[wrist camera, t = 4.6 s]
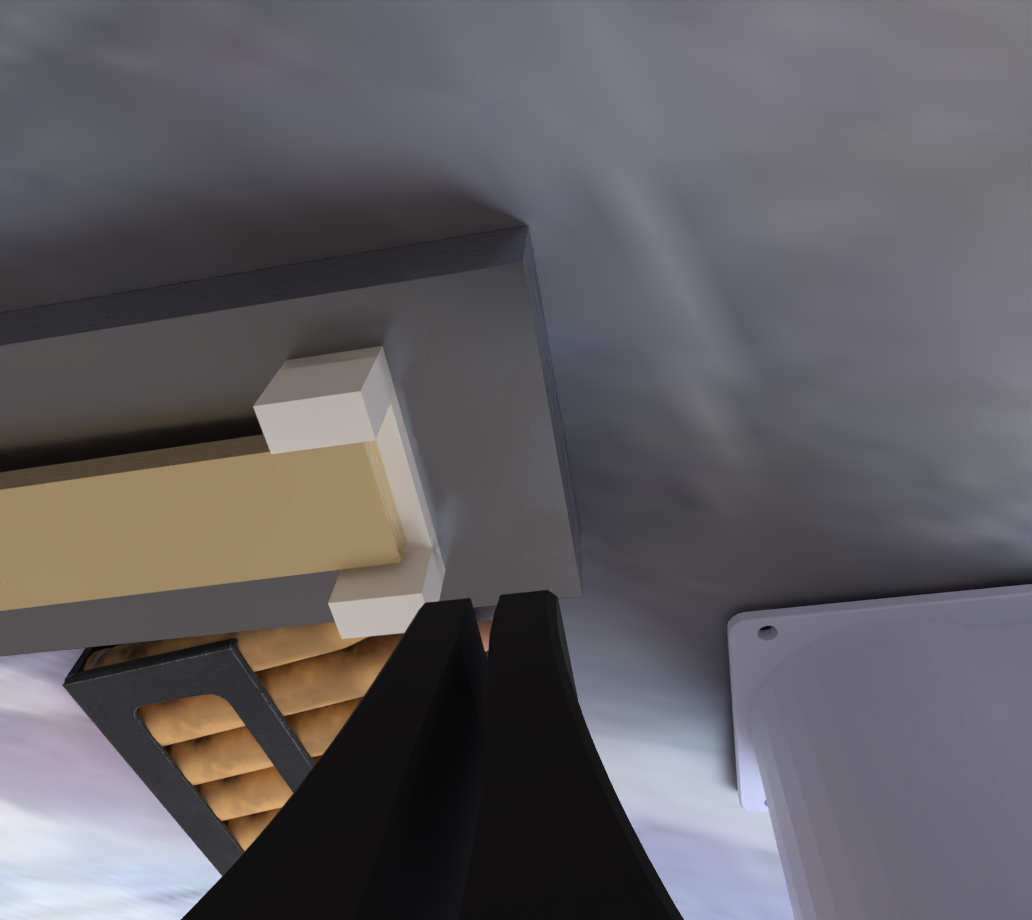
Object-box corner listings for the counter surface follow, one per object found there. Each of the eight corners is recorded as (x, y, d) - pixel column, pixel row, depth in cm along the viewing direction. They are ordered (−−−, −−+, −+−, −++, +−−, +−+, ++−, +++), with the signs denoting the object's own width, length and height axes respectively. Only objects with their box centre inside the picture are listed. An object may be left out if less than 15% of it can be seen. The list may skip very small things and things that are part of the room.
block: (528, 225, 17) (517, 295, 14) (580, 532, 21) (584, 651, 18) (-250, 354, 20) (-437, 443, 16) (-72, 606, 24) (-189, 724, 20)
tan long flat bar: (372, 414, 17) (360, 443, 16) (408, 533, 18) (399, 568, 17) (-258, 505, 18) (-307, 537, 17) (-178, 607, 20) (-218, 642, 19)
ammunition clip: (263, 855, 29) (593, 786, 27) (248, 907, 27) (597, 837, 25) (91, 635, 24) (481, 528, 22) (60, 682, 22) (477, 572, 20)
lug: (382, 345, 16) (360, 391, 14) (445, 569, 19) (433, 630, 17) (285, 360, 16) (253, 406, 15) (361, 579, 19) (341, 639, 17)
